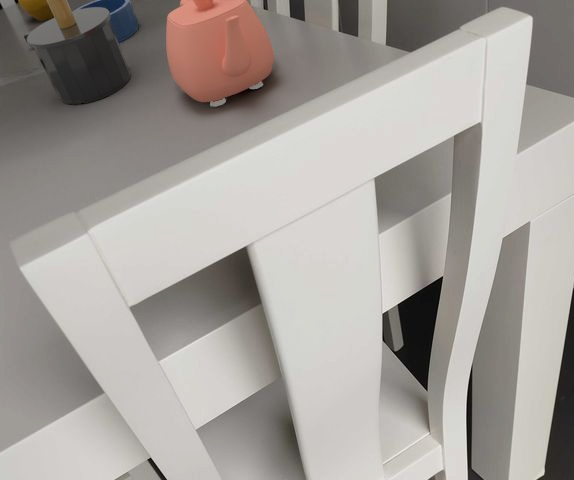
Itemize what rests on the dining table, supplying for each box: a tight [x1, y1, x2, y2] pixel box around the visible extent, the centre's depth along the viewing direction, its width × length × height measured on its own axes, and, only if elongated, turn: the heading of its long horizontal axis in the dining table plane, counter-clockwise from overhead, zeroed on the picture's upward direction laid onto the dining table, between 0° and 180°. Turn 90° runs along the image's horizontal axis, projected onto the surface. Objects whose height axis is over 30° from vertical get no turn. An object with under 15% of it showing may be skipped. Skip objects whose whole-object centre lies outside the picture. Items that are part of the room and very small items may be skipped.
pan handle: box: [23, 30, 33, 44], centre depth 105 cm, size 8×2×1 cm, turn 102°
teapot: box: [165, 0, 275, 103], centre depth 77 cm, size 13×20×12 cm, turn 27°
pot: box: [33, 20, 132, 105], centre depth 90 cm, size 12×12×8 cm
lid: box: [26, 0, 111, 49], centre depth 85 cm, size 13×13×6 cm
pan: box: [73, 0, 140, 43], centre depth 106 cm, size 12×12×4 cm
